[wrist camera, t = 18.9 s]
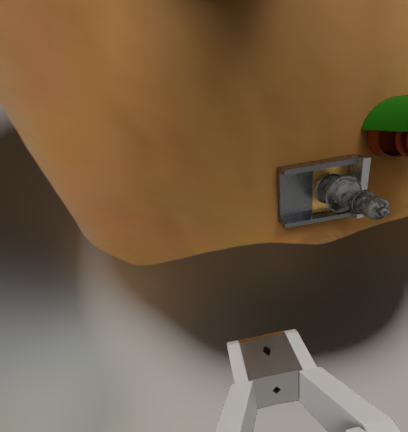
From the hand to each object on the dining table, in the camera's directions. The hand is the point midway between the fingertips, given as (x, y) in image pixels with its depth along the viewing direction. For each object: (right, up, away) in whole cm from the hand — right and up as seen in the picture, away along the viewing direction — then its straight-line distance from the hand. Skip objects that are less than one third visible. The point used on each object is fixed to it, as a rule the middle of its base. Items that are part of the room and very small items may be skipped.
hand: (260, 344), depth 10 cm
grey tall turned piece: (+19, +10, +29) cm, 36 cm away
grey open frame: (+17, +10, +30) cm, 36 cm away
